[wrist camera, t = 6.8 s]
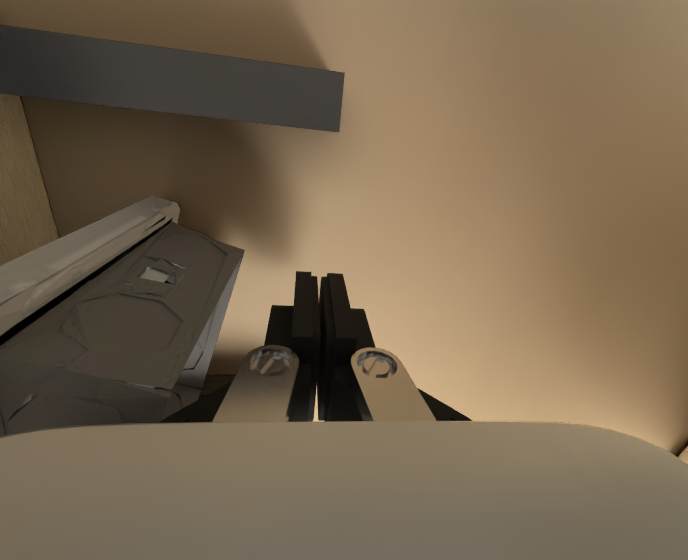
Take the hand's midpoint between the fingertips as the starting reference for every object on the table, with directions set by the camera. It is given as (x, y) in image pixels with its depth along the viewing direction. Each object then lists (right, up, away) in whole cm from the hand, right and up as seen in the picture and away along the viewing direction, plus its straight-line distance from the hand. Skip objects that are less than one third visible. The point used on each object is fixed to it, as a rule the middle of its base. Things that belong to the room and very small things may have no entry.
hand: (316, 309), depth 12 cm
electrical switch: (-5, 0, +3) cm, 6 cm away
